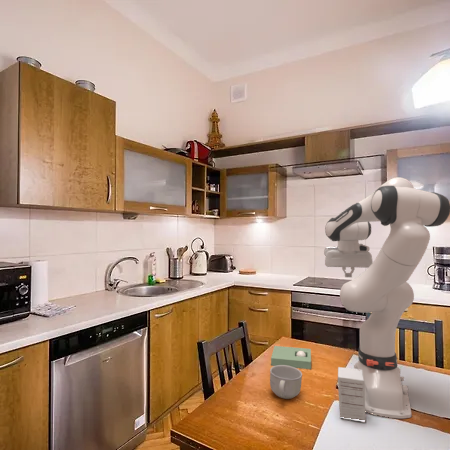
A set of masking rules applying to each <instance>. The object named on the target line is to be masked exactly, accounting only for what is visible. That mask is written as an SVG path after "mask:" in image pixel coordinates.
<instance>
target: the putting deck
mask: <svg viewBox="0 0 450 450" xmlns="http://www.w3.org/2000/svg"><path fill="white" fill-rule="evenodd" d="M298 351H303V352H304V353H305V354H306V357H300V356H296V354H297V352H298ZM277 365H287V366H291V367H294V368H297V369H301V370H302V369H304V370H312V349H311V348H304V347H292V346H281V345H274V347H273V350H272V353H271V357H270V366H272V367H273V366H277Z"/></svg>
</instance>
